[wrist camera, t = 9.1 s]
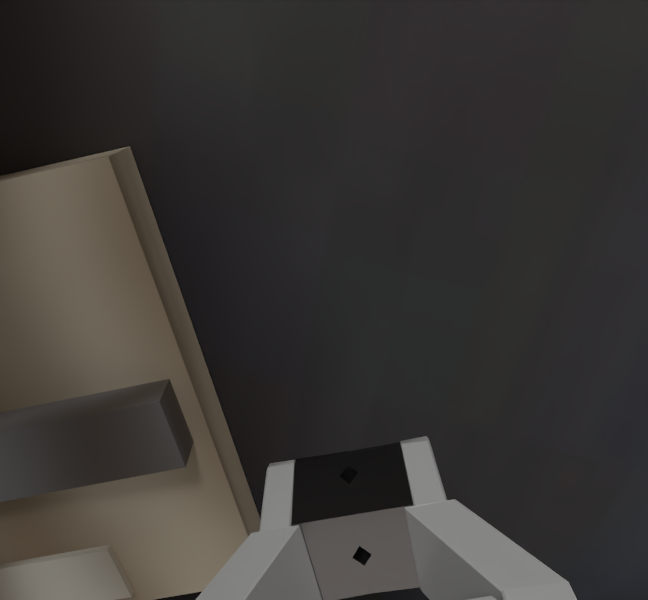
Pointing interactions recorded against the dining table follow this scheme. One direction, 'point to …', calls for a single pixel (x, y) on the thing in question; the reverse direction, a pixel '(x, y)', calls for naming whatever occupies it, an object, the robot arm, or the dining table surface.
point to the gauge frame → (105, 399)
